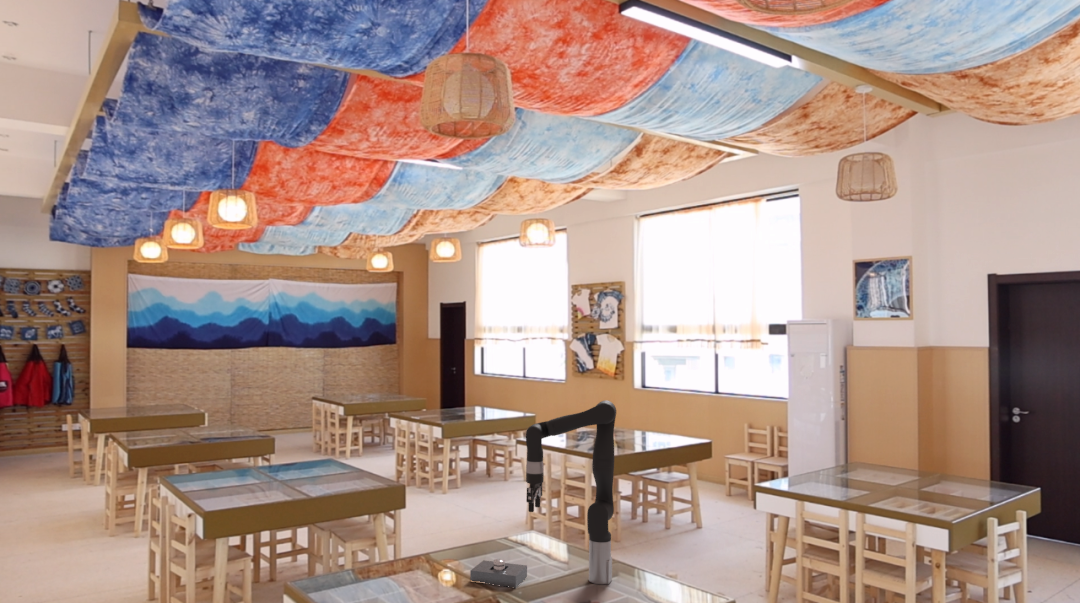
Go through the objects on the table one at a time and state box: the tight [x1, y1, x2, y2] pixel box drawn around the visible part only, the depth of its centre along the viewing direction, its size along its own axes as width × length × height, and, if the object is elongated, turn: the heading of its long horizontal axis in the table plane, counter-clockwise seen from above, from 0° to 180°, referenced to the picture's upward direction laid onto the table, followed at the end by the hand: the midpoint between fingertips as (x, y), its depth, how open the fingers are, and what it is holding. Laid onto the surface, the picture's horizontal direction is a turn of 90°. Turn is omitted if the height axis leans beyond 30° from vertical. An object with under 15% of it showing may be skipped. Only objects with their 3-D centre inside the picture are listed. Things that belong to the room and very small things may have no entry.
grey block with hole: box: [469, 560, 528, 589], centre depth 313 cm, size 20×14×5 cm
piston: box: [493, 558, 506, 571], centre depth 314 cm, size 5×5×8 cm
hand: (534, 509), depth 320 cm, fingers open, 8 cm apart
